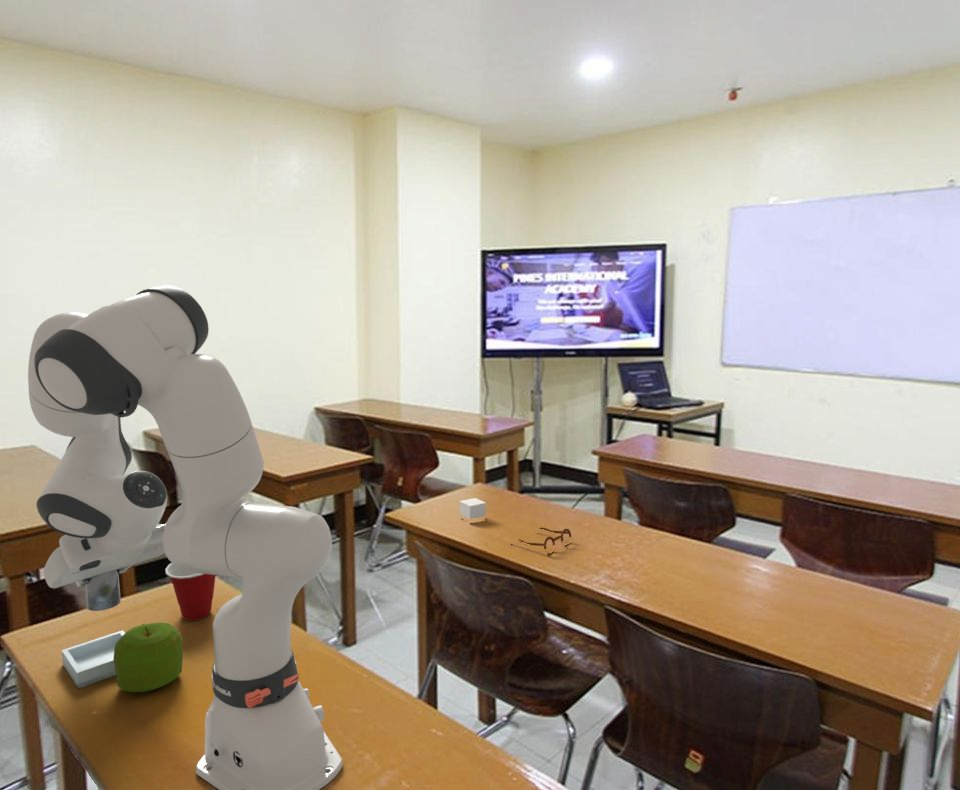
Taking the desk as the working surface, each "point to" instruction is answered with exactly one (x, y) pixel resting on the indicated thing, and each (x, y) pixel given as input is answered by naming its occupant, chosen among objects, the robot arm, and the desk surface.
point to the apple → (148, 657)
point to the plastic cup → (192, 591)
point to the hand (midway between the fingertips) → (100, 576)
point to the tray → (91, 660)
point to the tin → (103, 591)
